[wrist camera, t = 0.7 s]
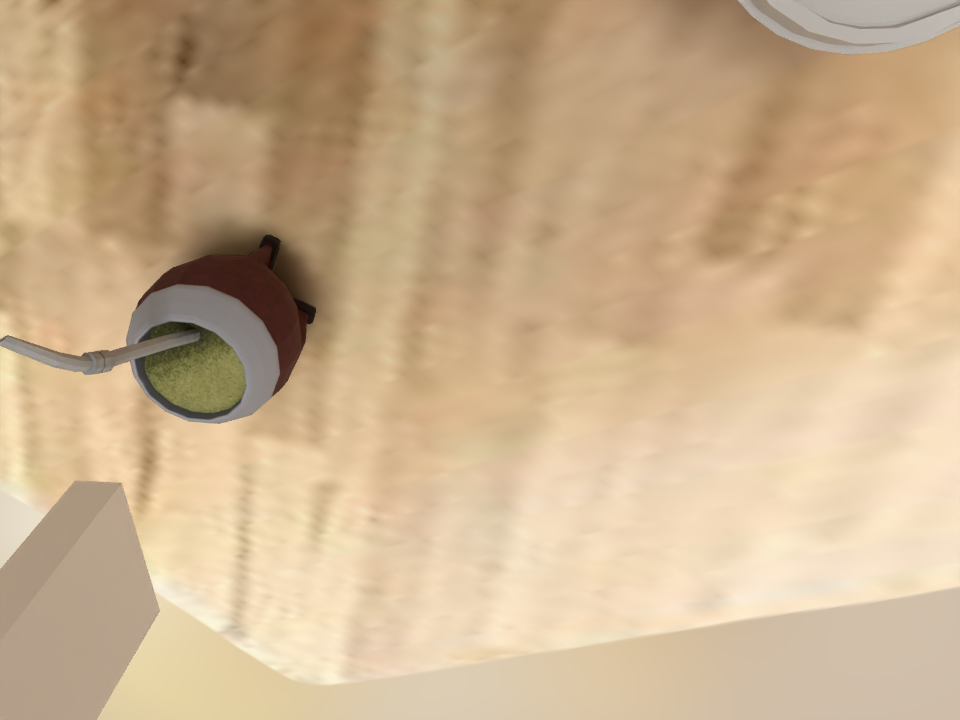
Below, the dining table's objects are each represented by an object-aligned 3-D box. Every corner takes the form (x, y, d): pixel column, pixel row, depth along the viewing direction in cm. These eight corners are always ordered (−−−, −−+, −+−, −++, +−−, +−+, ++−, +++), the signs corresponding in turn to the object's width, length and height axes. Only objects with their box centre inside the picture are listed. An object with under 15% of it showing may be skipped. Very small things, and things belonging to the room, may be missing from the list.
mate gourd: (301, 371, 44) (180, 580, 31) (157, 309, 43) (-29, 498, 30) (348, 252, 40) (232, 432, 27) (190, 181, 39) (-5, 334, 27)
